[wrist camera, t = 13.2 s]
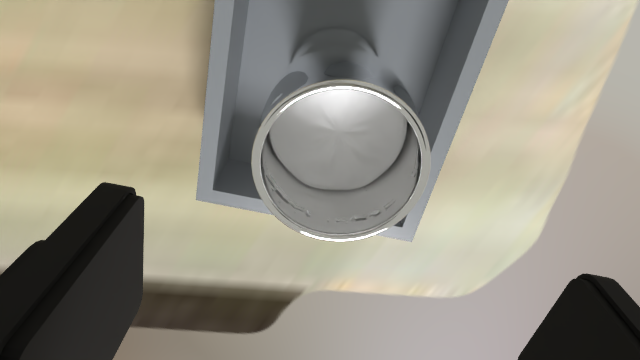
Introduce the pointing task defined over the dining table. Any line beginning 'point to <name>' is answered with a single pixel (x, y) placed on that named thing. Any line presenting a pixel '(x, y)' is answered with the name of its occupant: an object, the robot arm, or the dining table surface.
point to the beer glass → (339, 142)
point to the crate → (388, 44)
